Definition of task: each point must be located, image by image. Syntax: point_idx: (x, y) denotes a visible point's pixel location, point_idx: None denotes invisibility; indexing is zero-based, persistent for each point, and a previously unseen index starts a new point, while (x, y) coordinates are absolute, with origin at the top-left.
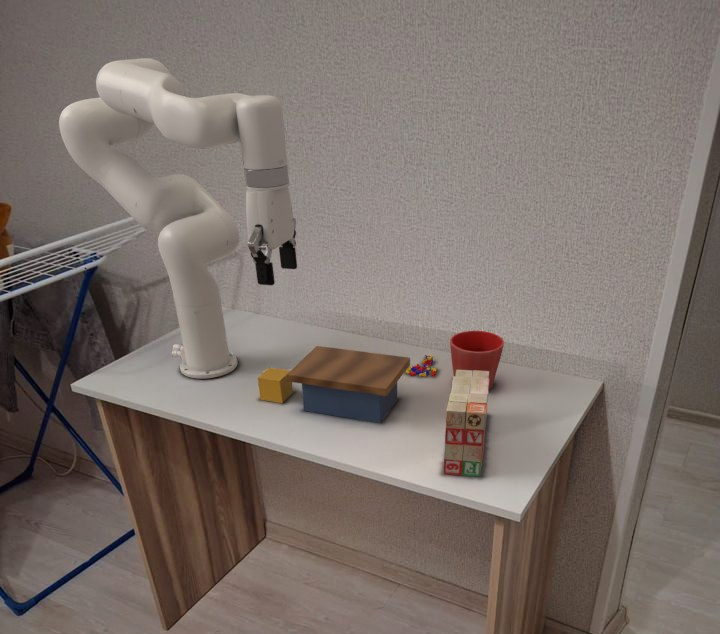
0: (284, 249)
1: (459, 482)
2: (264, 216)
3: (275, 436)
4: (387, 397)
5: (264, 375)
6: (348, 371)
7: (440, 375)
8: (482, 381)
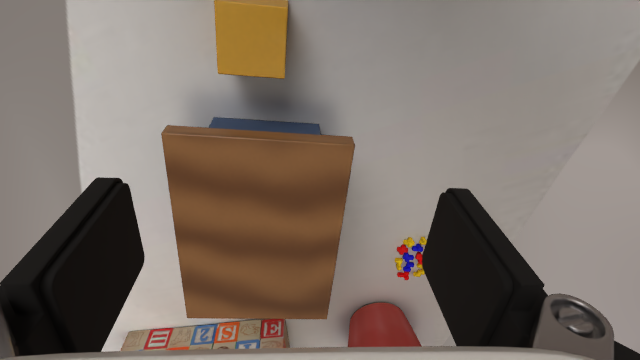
0: (484, 315)
1: (121, 345)
2: None
3: (93, 99)
4: None
5: (233, 16)
6: (231, 249)
7: (403, 281)
8: None
